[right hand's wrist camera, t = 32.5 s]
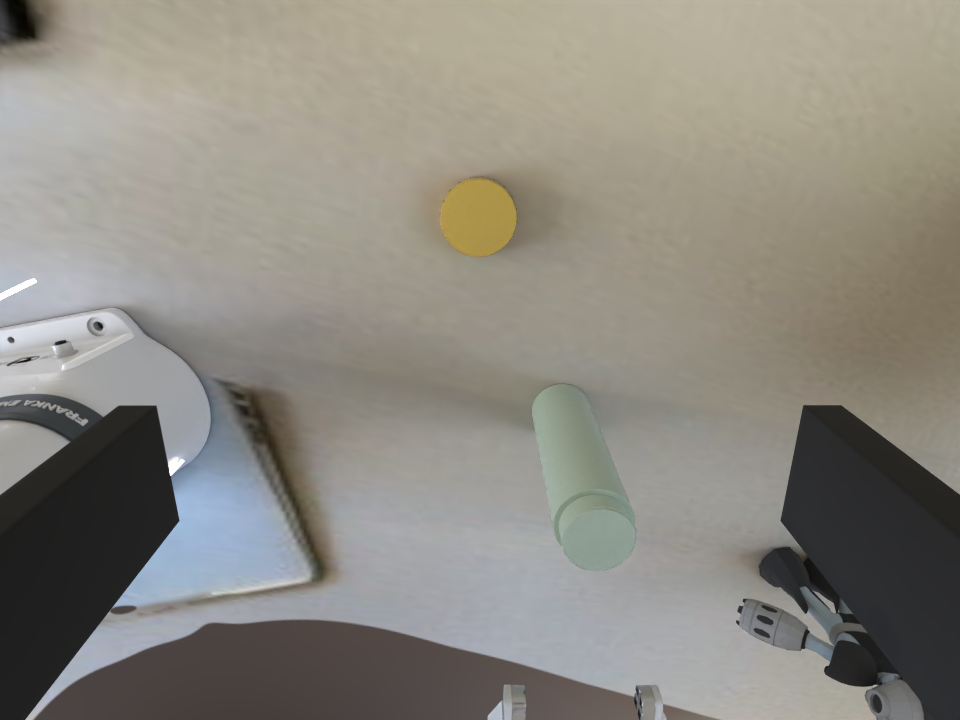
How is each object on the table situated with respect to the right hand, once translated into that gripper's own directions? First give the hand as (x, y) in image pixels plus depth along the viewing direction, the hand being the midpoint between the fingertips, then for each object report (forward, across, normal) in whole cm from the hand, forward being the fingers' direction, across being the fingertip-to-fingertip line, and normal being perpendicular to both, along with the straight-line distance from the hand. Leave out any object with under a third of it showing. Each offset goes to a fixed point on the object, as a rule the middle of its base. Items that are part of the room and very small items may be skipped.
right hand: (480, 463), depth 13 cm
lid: (+39, 0, 0) cm, 39 cm away
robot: (+41, +32, -35) cm, 63 cm away
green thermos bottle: (+41, +8, -18) cm, 45 cm away
